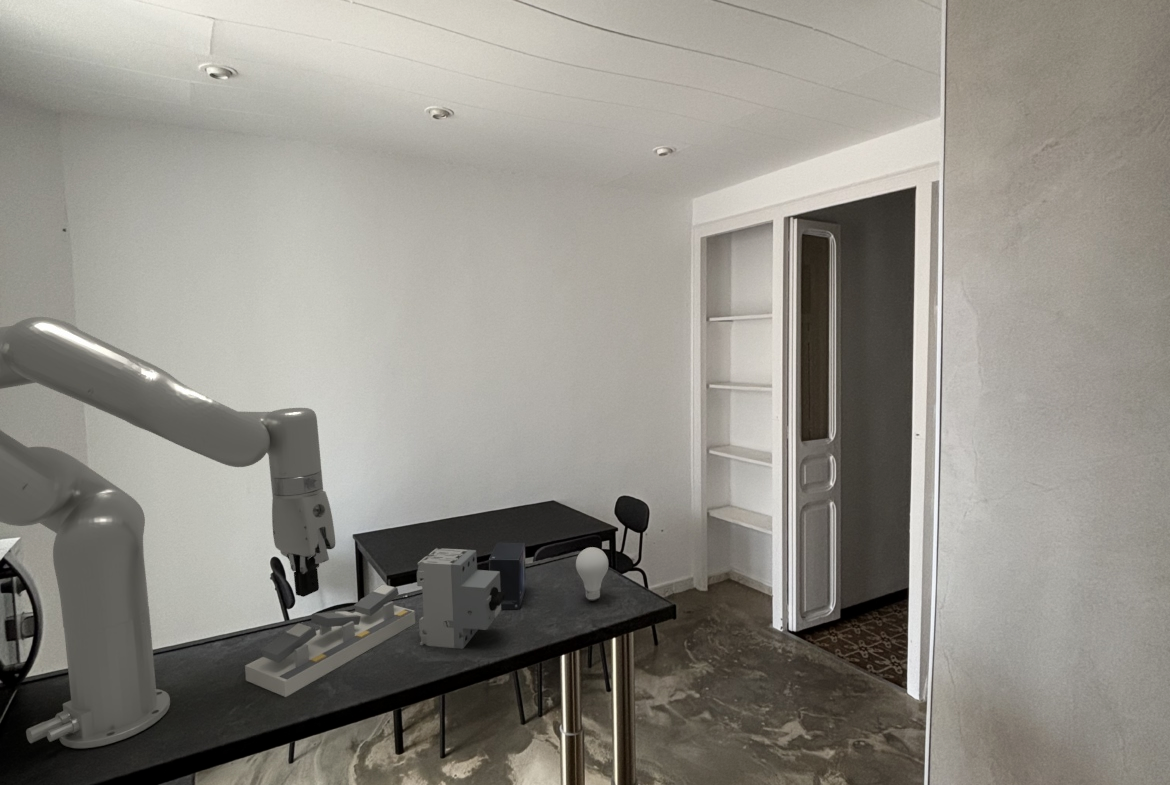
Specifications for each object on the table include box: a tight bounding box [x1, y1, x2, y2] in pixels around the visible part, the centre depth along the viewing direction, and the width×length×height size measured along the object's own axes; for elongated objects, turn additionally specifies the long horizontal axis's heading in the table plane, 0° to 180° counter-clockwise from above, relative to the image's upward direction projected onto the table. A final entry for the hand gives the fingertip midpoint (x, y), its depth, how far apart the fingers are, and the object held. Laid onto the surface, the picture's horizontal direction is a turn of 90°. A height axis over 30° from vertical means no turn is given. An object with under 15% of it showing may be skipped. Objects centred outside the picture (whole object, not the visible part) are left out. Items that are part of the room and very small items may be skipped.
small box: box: [488, 541, 527, 610], centre depth 126 cm, size 11×6×10 cm, turn 179°
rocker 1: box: [260, 622, 317, 663], centre depth 98 cm, size 7×4×2 cm, turn 151°
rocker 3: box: [353, 584, 399, 616], centre depth 114 cm, size 7×4×2 cm, turn 151°
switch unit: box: [244, 597, 416, 698], centre depth 106 cm, size 27×10×5 cm, turn 151°
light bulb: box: [575, 546, 609, 602], centre depth 124 cm, size 7×7×11 cm
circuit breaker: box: [416, 547, 506, 650], centre depth 109 cm, size 8×14×15 cm, turn 78°
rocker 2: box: [310, 610, 361, 627], centre depth 106 cm, size 7×4×2 cm, turn 151°
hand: (307, 592), depth 101 cm, fingers closed
